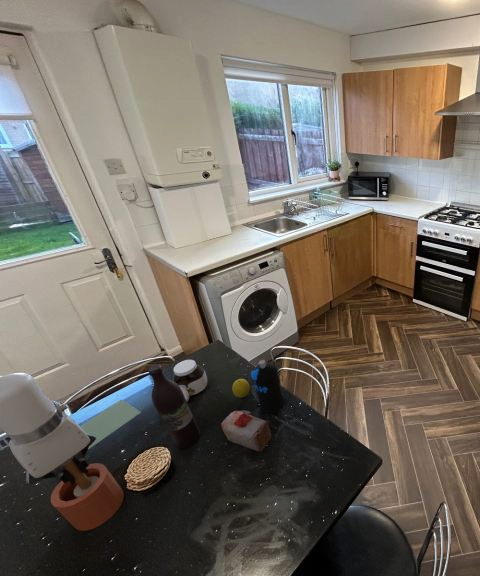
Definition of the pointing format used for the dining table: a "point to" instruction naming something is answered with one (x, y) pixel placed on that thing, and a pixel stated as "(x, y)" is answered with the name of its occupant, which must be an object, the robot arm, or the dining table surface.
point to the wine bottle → (173, 409)
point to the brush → (79, 478)
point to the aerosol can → (268, 387)
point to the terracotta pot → (89, 500)
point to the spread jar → (190, 378)
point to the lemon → (241, 388)
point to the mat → (109, 420)
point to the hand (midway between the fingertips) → (77, 475)
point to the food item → (246, 430)
